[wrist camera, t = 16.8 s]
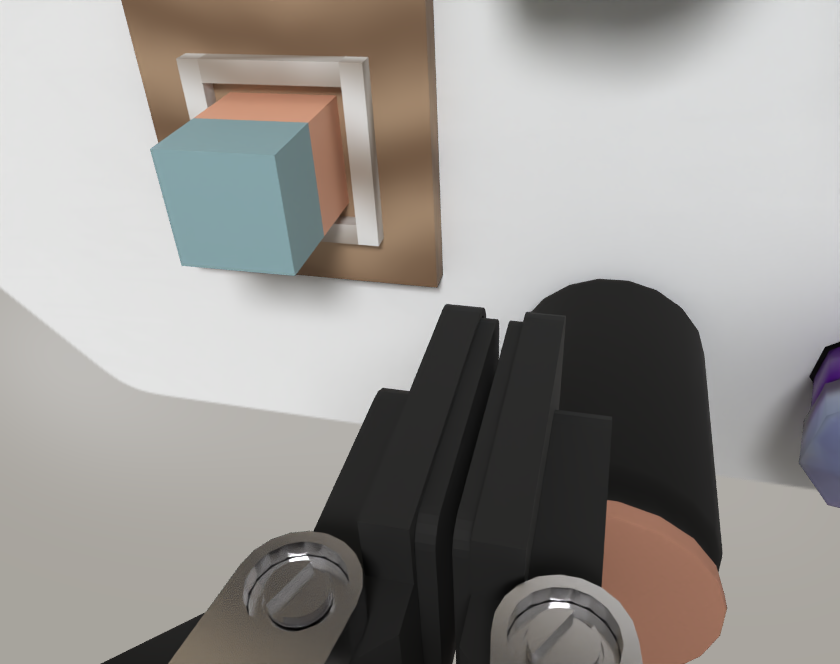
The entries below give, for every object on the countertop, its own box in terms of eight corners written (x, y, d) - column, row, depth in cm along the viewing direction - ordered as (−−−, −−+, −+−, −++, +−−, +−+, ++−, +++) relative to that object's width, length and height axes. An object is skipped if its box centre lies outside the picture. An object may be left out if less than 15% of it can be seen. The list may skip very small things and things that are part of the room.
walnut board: (135, -15, 39) (107, -5, 37) (432, -16, 35) (419, -5, 33) (201, 253, 48) (182, 272, 46) (442, 274, 45) (433, 296, 43)
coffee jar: (532, 415, 49) (484, 665, 35) (505, 275, 44) (435, 507, 30) (705, 412, 46) (729, 690, 32) (700, 260, 40) (726, 516, 26)
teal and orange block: (229, 92, 40) (150, 149, 33) (336, 95, 38) (274, 155, 32) (250, 196, 43) (181, 265, 37) (349, 202, 42) (294, 275, 35)
